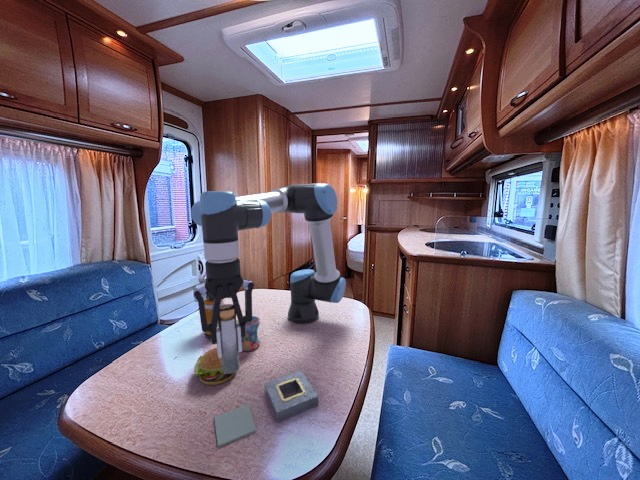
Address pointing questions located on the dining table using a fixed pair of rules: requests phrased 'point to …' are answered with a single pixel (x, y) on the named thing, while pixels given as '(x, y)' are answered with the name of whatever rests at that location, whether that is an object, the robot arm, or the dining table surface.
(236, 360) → the key peg
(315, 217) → the robot arm
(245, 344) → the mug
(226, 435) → the rest pad
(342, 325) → the dining table surface
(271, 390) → the plate
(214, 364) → the food
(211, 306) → the canister
